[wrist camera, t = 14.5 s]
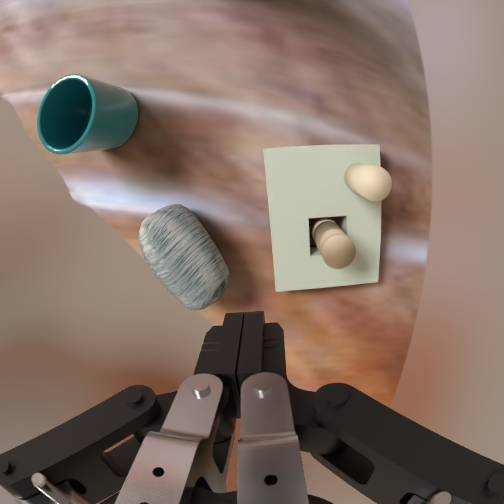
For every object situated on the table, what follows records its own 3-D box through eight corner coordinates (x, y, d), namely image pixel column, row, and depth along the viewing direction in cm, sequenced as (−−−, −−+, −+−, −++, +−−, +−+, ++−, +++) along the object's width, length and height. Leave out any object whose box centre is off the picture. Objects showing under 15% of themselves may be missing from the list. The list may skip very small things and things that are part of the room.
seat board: (263, 149, 34) (262, 148, 26) (371, 144, 33) (400, 144, 25) (275, 281, 40) (277, 316, 32) (371, 272, 39) (393, 303, 31)
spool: (256, 285, 37) (203, 320, 29) (208, 297, 43) (158, 326, 35) (215, 186, 36) (153, 198, 28) (173, 213, 42) (117, 228, 34)
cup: (103, 66, 31) (57, 49, 20) (152, 113, 33) (111, 103, 23) (67, 113, 33) (17, 111, 22) (111, 162, 36) (63, 171, 25)
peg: (309, 217, 37) (322, 237, 29) (336, 215, 37) (356, 235, 28) (311, 243, 38) (322, 270, 30) (336, 241, 38) (355, 267, 30)
